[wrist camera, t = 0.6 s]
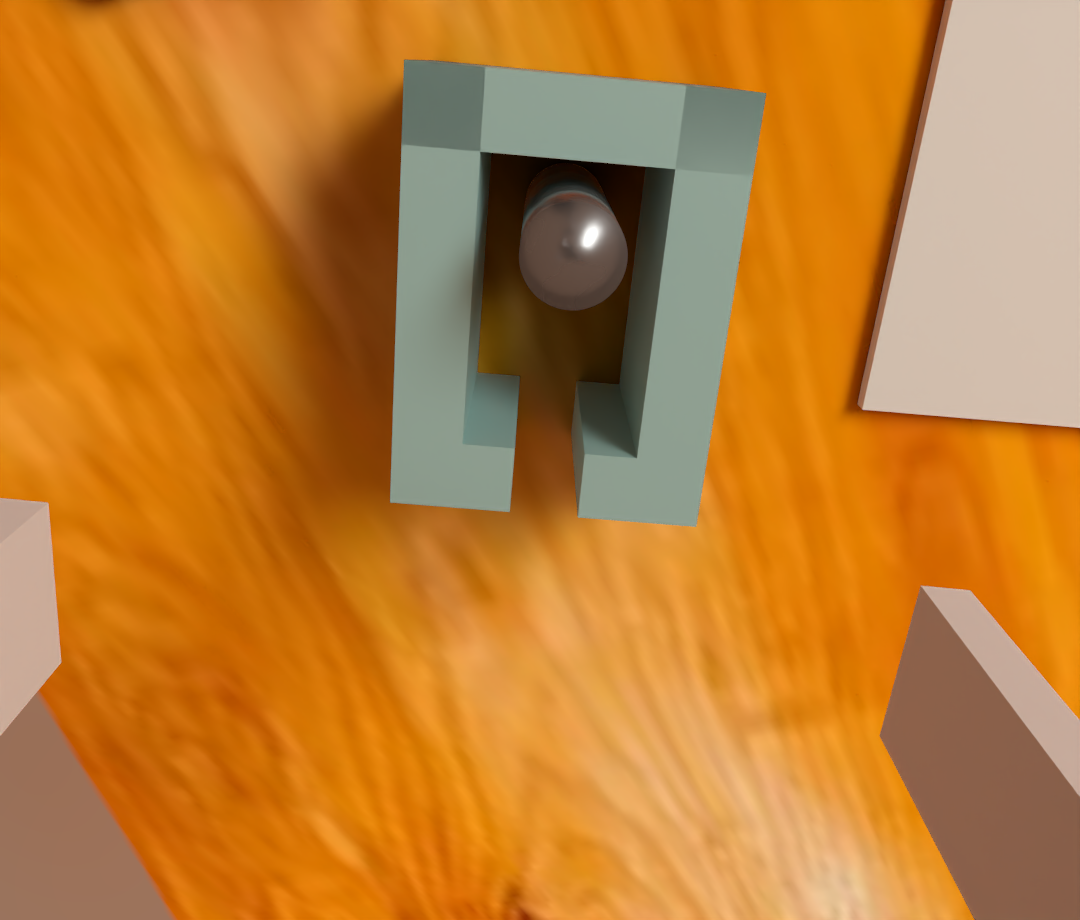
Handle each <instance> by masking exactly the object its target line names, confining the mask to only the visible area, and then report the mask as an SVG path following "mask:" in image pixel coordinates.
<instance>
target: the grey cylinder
mask: <svg viewBox="0 0 1080 920" xmlns="http://www.w3.org/2000/svg"><path fill="white" fill-rule="evenodd" d="M627 259H628V251H627V244H626V240H625V237H624V234H623V232H622V230H621V228H620V226H619V224H618V221H617V219H616V217H615V215H614V213H613V211H612V209H611V207H610V205H609V203H608V201H607V198H606V196H605V194H604V192H603V190H602V188H601V186H600V184H599V182H598V181H597V179H596V178H595V177H594V176H593V174H592V173H590V172H589V171H588V170H586V169H585V168H583V167H581V166H579V165H576V164H571V163H559V164H554V165H551V166H549V167H547V168H545V169H543V170H542V171H541V172H539V173H538V174H537V175H536V176H535V178H534V179H533V180H532V182H531V184H530V185H529V188H528V190H527V193H526V199H525V207H524V215H523V223H522V232H521V240H520V249H519V264H520V269H521V273H522V276H523V278H524V281H525V282H526V284H527V286H528V287H529V289H530V290H531V291H532V292H533V293H534V294H535V296H536V297H538V298H539V299H540V300H541V301H543V302H545V303H546V304H548V305H550V306H552V307H555V308H558V309H563V310H583V309H587V308H590V307H593V306H595V305H597V304H599V303H601V302H603V301H604V300H605V299H607V298H608V297H609V296H610V295H611V294H612V293H613V292H614V291H615V290H616V289H617V287H618V286H619V284H620V282H621V280H622V278H623V276H624V274H625V270H626V266H627Z"/></svg>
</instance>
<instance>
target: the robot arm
mask: <svg viewBox="0 0 1080 920" xmlns="http://www.w3.org/2000/svg"><path fill="white" fill-rule="evenodd" d="M60 663H61V652H60V640H59V628H58V616H57V603H56V591H55V579H54V567H53V554H52V542H51V530H50V517H49V505H48V503H46V502H36V501H25V500H15V499H4V498H0V735H1V734H2V733H3V732H4V731H5V730H6V728H7V727H8V726H9V725H10V724H11V722H12V721H13V720H14V719H15V718H16V716H17V715H18V714H19V713H20V712H21V710H22V709H23V708H24V707H25V706H26V704H27V703H28V702H29V700H31V698H32V697H33V696H34V695H35V694H36V692H37V691H38V690H39V689H40V688H41V686H42V685H43V684H44V683H45V682H46V680H47V679H48V678H49V677H50V676H51V674H52V673H53V672H54V671H55V669H56V668H57V667H58V666H59V665H60ZM880 737H881V739H882V741H883V743H884V745H885V747H886V749H887V751H888V753H889V755H890V757H891V759H892V760H893V762H894V764H895V766H896V768H897V770H898V772H899V774H900V776H901V778H902V780H903V782H904V784H905V786H906V788H907V790H908V791H909V793H910V795H911V797H912V799H913V801H914V803H915V805H916V807H917V809H918V811H919V813H920V815H921V817H922V819H923V821H924V822H925V824H926V826H927V828H928V830H929V832H930V834H931V836H932V838H933V840H934V842H935V844H936V846H937V848H938V850H939V851H940V853H941V855H942V857H943V859H944V861H945V863H946V865H947V867H948V869H949V871H950V873H951V875H952V877H953V879H954V881H955V882H956V884H957V886H958V888H959V890H960V892H961V894H962V896H963V898H964V900H965V902H966V904H967V906H968V908H969V910H970V912H971V913H972V915H973V917H974V919H975V920H1080V720H1079V719H1078V718H1077V717H1076V715H1075V714H1074V713H1073V712H1072V711H1071V709H1070V708H1069V707H1068V706H1067V705H1066V704H1065V702H1064V701H1063V700H1062V699H1061V698H1060V696H1059V695H1058V694H1057V693H1056V692H1055V691H1054V689H1053V688H1052V687H1051V686H1050V685H1049V683H1048V682H1047V681H1046V680H1045V679H1044V677H1043V676H1042V675H1041V674H1040V673H1039V672H1038V670H1037V669H1036V668H1035V667H1034V666H1033V664H1032V663H1031V662H1030V661H1029V660H1028V658H1027V657H1026V656H1025V655H1024V654H1023V653H1022V651H1021V650H1020V649H1019V648H1018V647H1017V645H1016V644H1015V643H1014V642H1013V641H1012V639H1011V638H1010V637H1009V636H1008V635H1007V634H1006V632H1005V631H1004V630H1003V629H1002V628H1001V626H1000V625H999V624H998V623H997V622H996V620H995V619H994V618H993V617H992V616H991V615H990V613H989V612H988V611H987V610H986V609H985V607H984V606H983V605H982V604H981V603H980V601H979V600H978V599H977V598H976V597H975V596H974V594H973V593H972V592H971V591H970V590H961V589H950V588H940V587H929V586H921V587H920V591H919V594H918V598H917V602H916V605H915V609H914V613H913V616H912V620H911V624H910V627H909V631H908V634H907V638H906V642H905V645H904V649H903V653H902V656H901V660H900V664H899V667H898V671H897V675H896V678H895V682H894V686H893V689H892V693H891V697H890V700H889V704H888V708H887V711H886V715H885V719H884V722H883V726H882V730H881V733H880Z"/></svg>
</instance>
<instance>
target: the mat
mask: <svg viewBox="0 0 1080 920" xmlns="http://www.w3.org/2000/svg"><path fill="white" fill-rule="evenodd" d="M857 404H858V406H859V407H860V408H861V409H862V410H872V411H884V412H896V413H908V414H920V415H932V416H944V417H956V418H968V419H980V420H992V421H1004V422H1016V423H1028V424H1040V425H1052V426H1064V427H1076V428H1080V0H945V5H944V9H943V14H942V18H941V23H940V28H939V32H938V37H937V41H936V46H935V50H934V55H933V60H932V64H931V69H930V73H929V78H928V82H927V87H926V92H925V96H924V101H923V105H922V110H921V114H920V119H919V124H918V128H917V133H916V137H915V142H914V147H913V151H912V156H911V160H910V165H909V169H908V174H907V179H906V183H905V188H904V192H903V197H902V201H901V206H900V211H899V215H898V220H897V224H896V229H895V233H894V238H893V243H892V247H891V252H890V256H889V261H888V265H887V270H886V275H885V279H884V284H883V288H882V293H881V298H880V302H879V307H878V311H877V316H876V320H875V325H874V330H873V334H872V339H871V343H870V348H869V352H868V357H867V362H866V366H865V371H864V375H863V380H862V384H861V389H860V394H859V398H858V403H857Z"/></svg>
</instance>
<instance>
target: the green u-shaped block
mask: <svg viewBox="0 0 1080 920" xmlns="http://www.w3.org/2000/svg"><path fill="white" fill-rule="evenodd" d="M765 98H766V93H760V92H753V91H745V90H738V89H730V88H723V87H714V86H703V85H692V84H681V83H671V82H660V81H649V80H638V79H628V78H617V77H606V76H595V75H585V74H574V73H563V72H552V71H542V70H531V69H520V68H509V67H499V66H488V65H477V64H466V63H456V62H445V61H434V60H404V83H403V114H402V145H401V176H400V207H399V238H398V269H397V300H396V331H395V363H394V394H393V425H392V456H391V487H390V503H403V504H415V505H428V506H440V507H453V508H466V509H478V510H491V511H504V512H510V503H511V491H512V478H513V466H514V454H515V441H516V427H517V412H518V398H519V383H520V376H513V375H501V374H489V373H477V370H478V355H479V339H480V324H481V309H482V293H483V278H484V263H485V247H486V232H487V217H488V201H489V186H490V170H491V155H492V153H501V154H512V155H523V156H534V157H545V158H556V159H567V160H578V161H590V162H601V163H612V164H623V165H634V166H645V167H646V168H645V176H644V184H643V192H642V200H641V209H640V217H639V225H638V233H637V241H636V250H635V258H634V266H633V274H632V282H631V291H630V299H629V307H628V315H627V323H626V332H625V340H624V348H623V356H622V364H621V373H620V381H619V384H609V383H597V382H585V381H577V383H576V392H575V402H574V411H573V421H572V430H571V439H572V451H573V464H574V476H575V489H576V502H577V514H578V517H580V518H592V519H605V520H618V521H630V522H643V523H656V524H668V525H681V526H694V527H696V524H697V518H698V512H699V506H700V499H701V493H702V487H703V481H704V475H705V469H706V462H707V456H708V450H709V444H710V438H711V431H712V425H713V419H714V413H715V407H716V401H717V394H718V388H719V382H720V376H721V370H722V363H723V357H724V351H725V345H726V339H727V333H728V326H729V320H730V314H731V308H732V302H733V295H734V289H735V283H736V277H737V271H738V264H739V258H740V252H741V246H742V240H743V234H744V227H745V221H746V215H747V209H748V203H749V196H750V190H751V184H752V178H753V172H754V166H755V159H756V153H757V147H758V141H759V135H760V128H761V122H762V116H763V110H764V104H765Z"/></svg>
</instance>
